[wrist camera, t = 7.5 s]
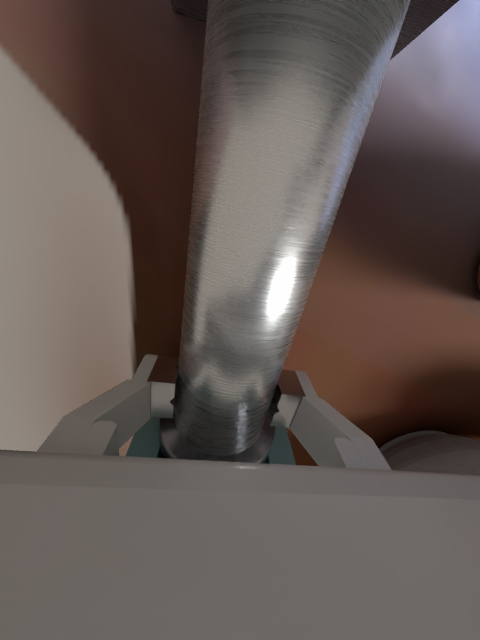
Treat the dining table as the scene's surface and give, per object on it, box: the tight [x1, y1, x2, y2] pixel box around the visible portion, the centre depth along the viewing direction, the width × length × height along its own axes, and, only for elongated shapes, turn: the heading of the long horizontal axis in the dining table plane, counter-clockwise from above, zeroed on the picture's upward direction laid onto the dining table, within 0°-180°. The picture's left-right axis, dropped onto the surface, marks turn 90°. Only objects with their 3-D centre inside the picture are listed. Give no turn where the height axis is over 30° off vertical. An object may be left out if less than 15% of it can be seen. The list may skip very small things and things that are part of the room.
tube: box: [159, 0, 411, 463], centre depth 8 cm, size 19×5×5 cm, turn 169°
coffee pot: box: [379, 430, 480, 475], centre depth 15 cm, size 21×12×15 cm, turn 141°
